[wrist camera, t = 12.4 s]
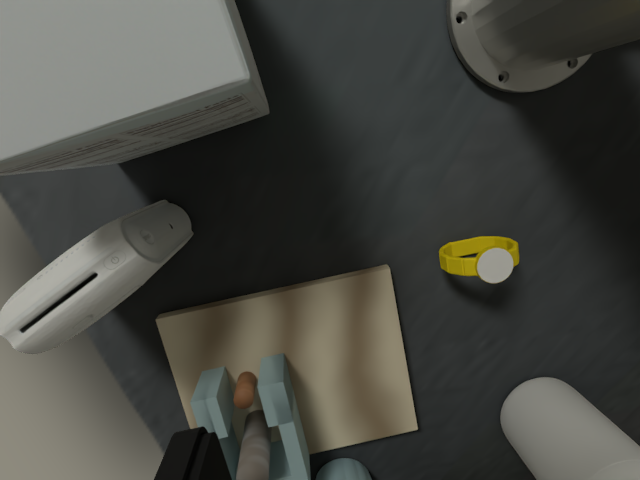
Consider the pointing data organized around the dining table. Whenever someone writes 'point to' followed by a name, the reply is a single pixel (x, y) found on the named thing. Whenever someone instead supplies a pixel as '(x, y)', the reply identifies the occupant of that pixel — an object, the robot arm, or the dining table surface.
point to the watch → (481, 257)
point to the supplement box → (119, 79)
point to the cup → (343, 470)
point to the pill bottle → (566, 434)
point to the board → (301, 361)
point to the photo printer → (93, 277)
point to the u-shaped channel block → (280, 409)
